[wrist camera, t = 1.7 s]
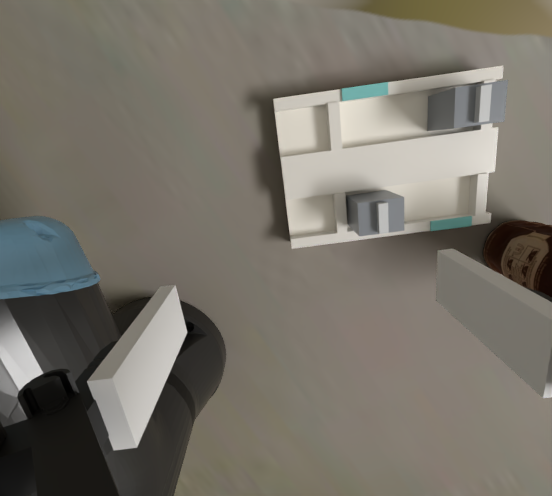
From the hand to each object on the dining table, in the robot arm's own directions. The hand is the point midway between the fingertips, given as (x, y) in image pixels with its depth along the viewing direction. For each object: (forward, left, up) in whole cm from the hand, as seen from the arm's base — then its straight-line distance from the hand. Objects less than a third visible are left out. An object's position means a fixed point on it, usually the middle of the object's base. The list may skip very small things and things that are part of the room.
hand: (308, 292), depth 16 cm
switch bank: (+10, +4, -19) cm, 21 cm away
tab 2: (+16, +8, -17) cm, 25 cm away
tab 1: (+8, 0, -17) cm, 19 cm away
